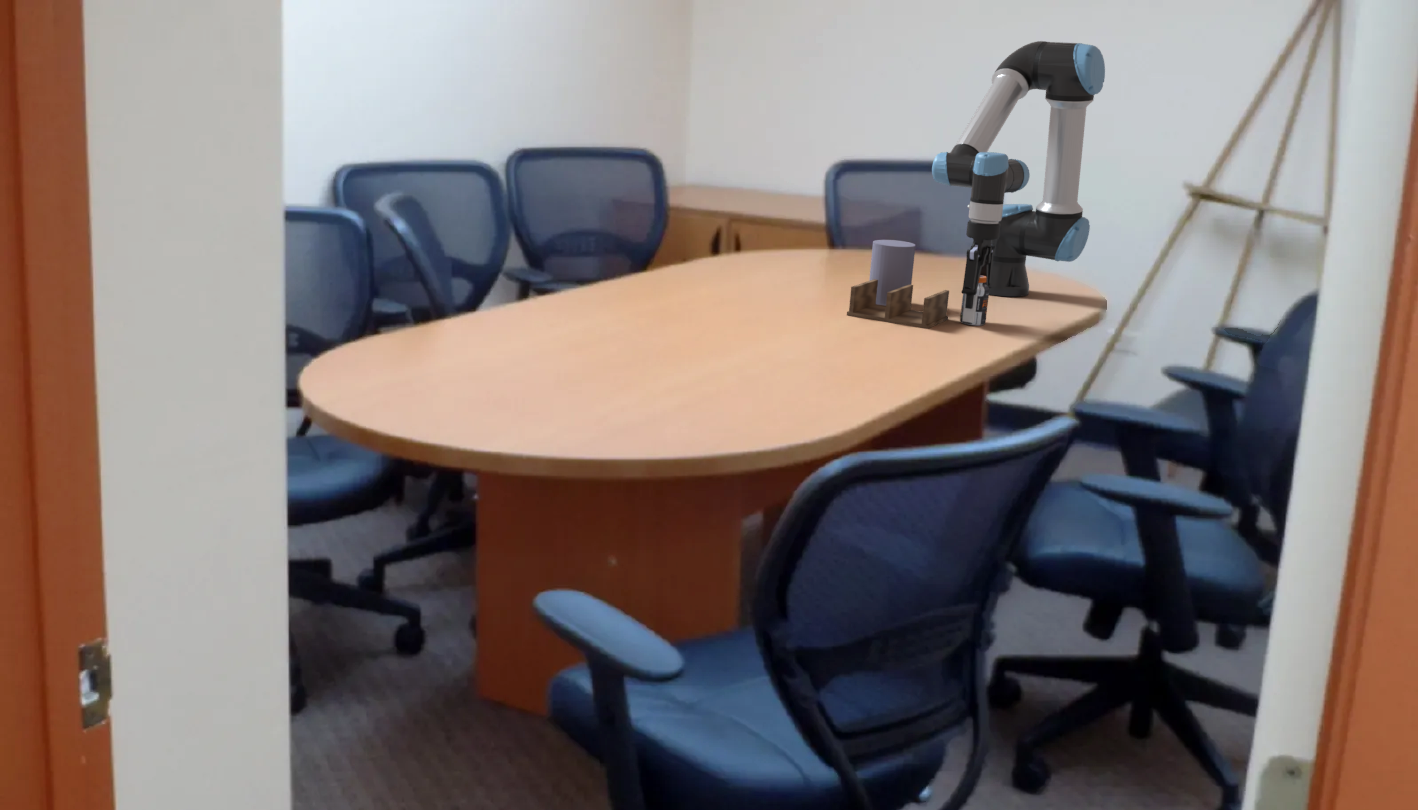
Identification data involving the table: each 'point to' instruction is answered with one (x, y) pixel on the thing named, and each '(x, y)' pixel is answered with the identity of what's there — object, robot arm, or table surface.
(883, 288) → the container
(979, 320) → the pill bottle
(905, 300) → the rack
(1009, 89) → the robot arm
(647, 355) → the table surface
